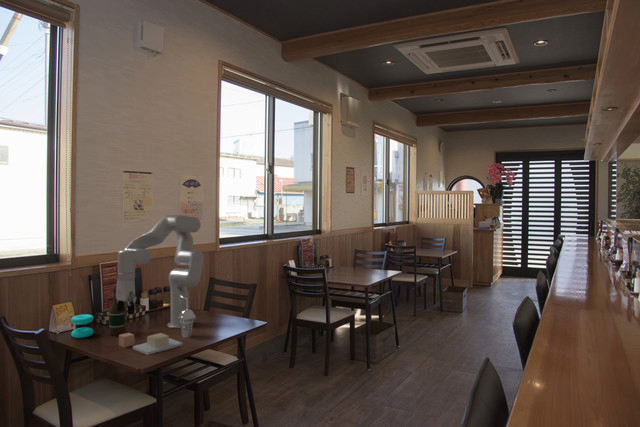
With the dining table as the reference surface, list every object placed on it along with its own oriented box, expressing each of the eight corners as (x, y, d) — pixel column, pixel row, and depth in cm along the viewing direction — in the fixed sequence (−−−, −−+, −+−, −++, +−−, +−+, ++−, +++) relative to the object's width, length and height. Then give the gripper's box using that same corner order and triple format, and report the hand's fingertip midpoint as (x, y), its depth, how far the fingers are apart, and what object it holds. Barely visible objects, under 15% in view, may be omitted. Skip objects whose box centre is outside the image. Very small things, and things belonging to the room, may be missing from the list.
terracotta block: (128, 342, 219) (128, 332, 219) (134, 345, 216) (134, 334, 216) (118, 345, 215) (118, 334, 215) (124, 347, 212) (124, 337, 212)
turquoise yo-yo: (89, 312, 237) (96, 316, 230) (89, 331, 237) (96, 335, 230) (68, 316, 229) (75, 319, 223) (68, 335, 230) (75, 340, 223)
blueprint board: (167, 340, 224) (167, 329, 224) (182, 345, 216) (182, 334, 216) (132, 348, 210) (132, 337, 210) (147, 354, 202) (147, 343, 202)
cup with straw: (179, 339, 225) (179, 299, 224) (176, 334, 233) (176, 296, 232) (197, 337, 229) (197, 297, 228) (193, 332, 237) (193, 294, 236)
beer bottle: (128, 332, 236) (128, 286, 235) (117, 336, 229) (117, 289, 228) (117, 331, 238) (116, 285, 238) (105, 335, 231) (105, 288, 231)
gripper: (109, 275, 217) (109, 310, 217) (127, 279, 206) (127, 316, 206) (124, 273, 223) (124, 308, 223) (143, 277, 212) (142, 313, 212)
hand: (125, 312), depth 215 cm, fingers open, 9 cm apart
